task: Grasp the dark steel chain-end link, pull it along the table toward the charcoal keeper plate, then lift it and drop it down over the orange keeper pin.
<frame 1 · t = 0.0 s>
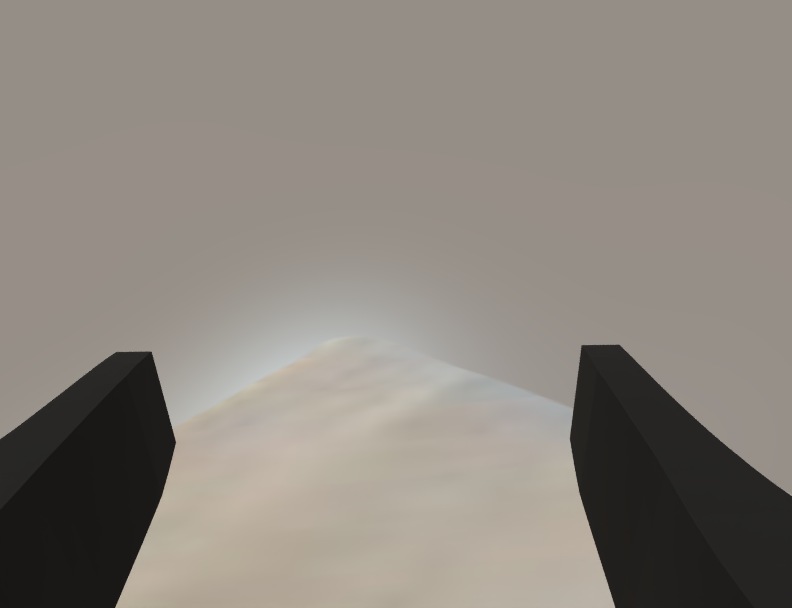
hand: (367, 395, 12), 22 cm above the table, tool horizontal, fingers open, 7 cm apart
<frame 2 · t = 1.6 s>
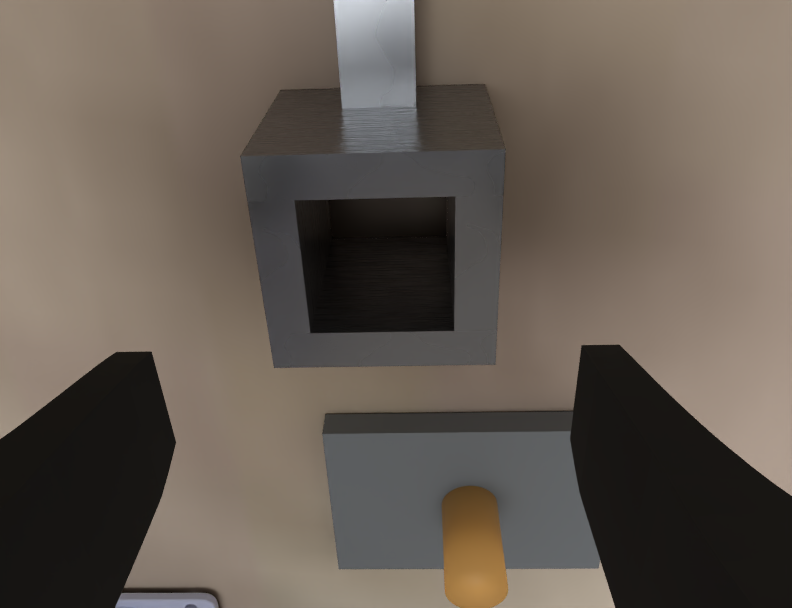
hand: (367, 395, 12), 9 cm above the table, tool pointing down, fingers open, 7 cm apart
keeper: (467, 484, 26), on the table
link: (386, 183, 20), on the table
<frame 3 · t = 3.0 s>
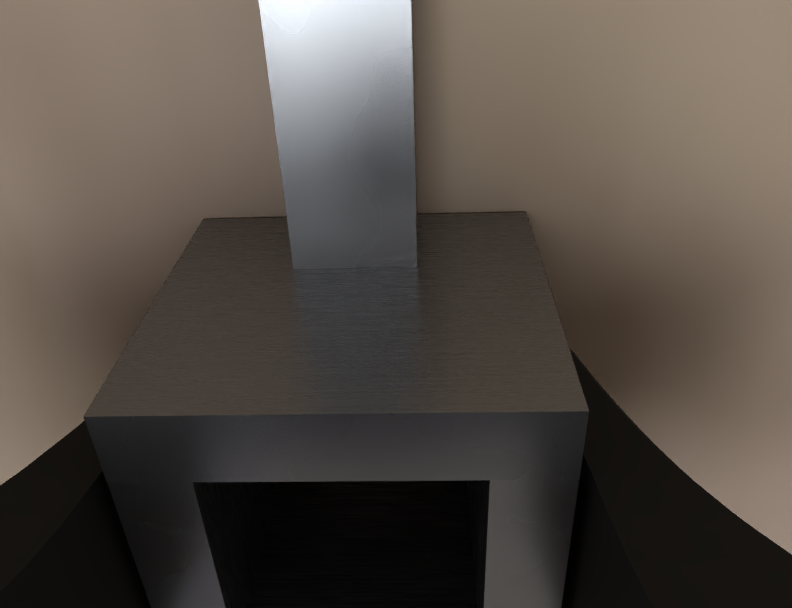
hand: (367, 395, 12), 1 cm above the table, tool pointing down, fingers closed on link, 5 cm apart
link: (371, 347, 13), on the table, touching gripper
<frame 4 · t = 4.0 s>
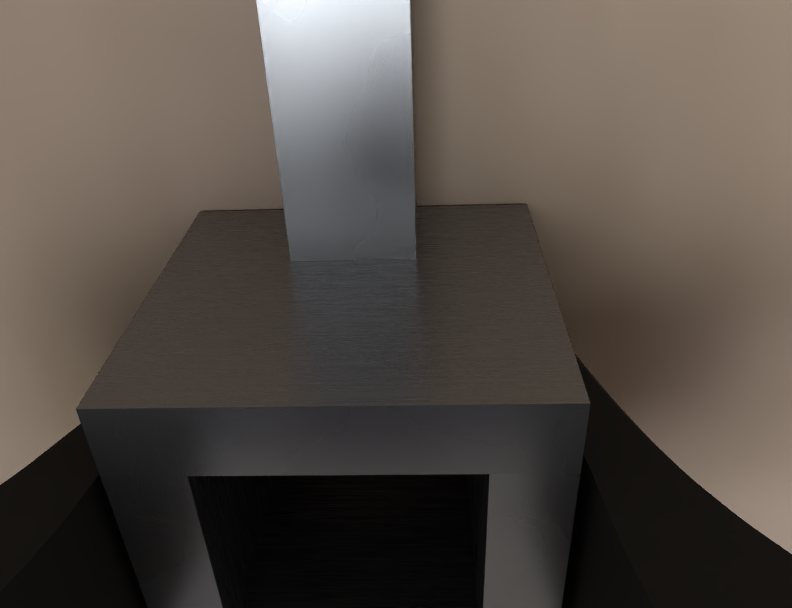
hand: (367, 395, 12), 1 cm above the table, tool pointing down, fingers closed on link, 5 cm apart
link: (370, 342, 13), on the table, touching gripper
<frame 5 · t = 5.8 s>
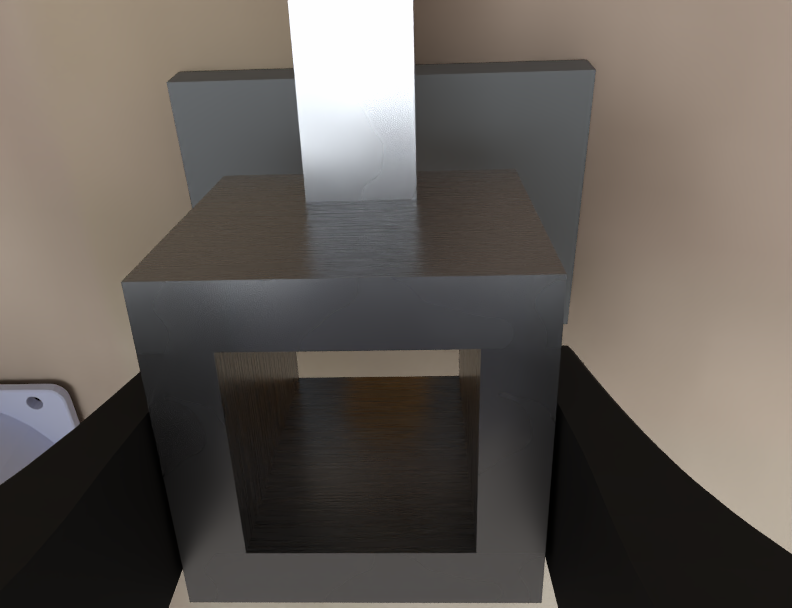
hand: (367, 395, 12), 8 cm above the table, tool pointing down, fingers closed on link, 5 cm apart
keeper: (386, 198, 19), on the table
link: (374, 304, 14), point 6 cm above the table, tilted 7°, touching gripper
when the fingers open (4 cm above the table, at t = 7.3 s): link stays where it is, resting on keeper.
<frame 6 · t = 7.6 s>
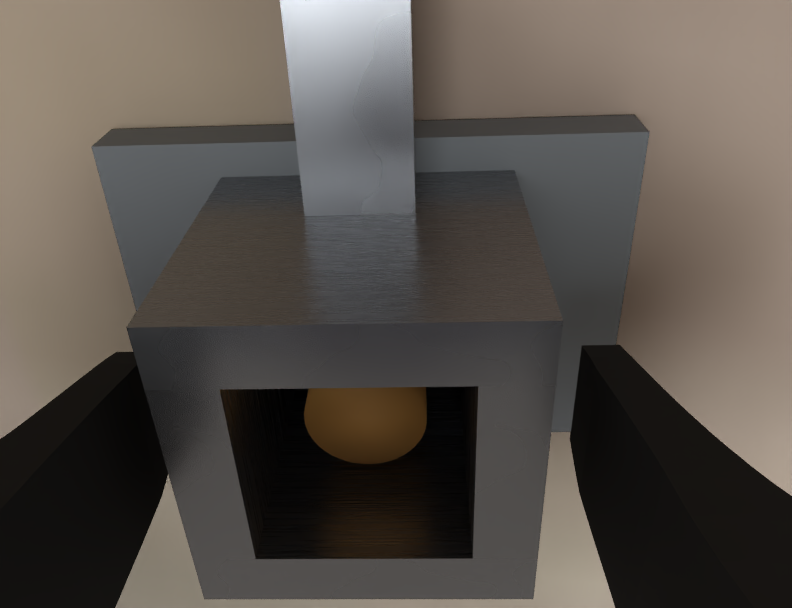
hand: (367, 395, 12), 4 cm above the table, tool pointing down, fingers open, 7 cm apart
keeper: (378, 280, 15), on the table
link: (374, 299, 14), point 1 cm above the table, touching keeper
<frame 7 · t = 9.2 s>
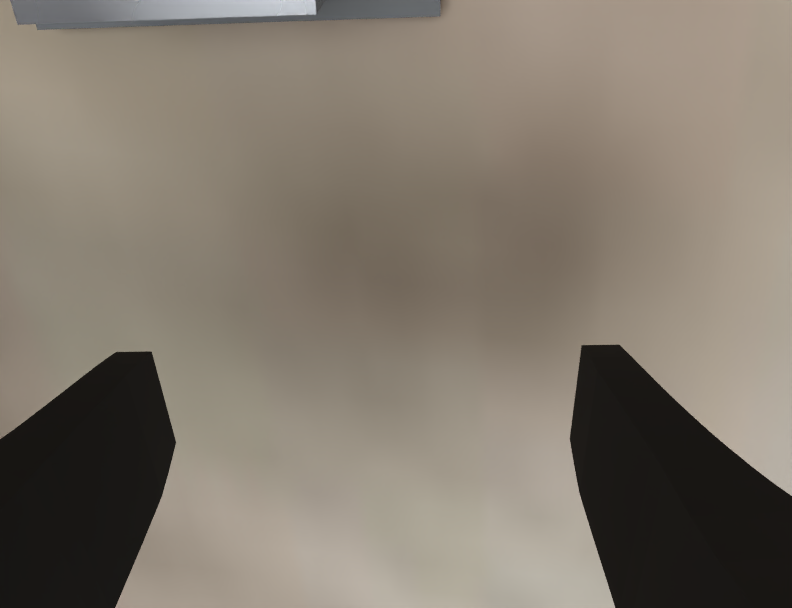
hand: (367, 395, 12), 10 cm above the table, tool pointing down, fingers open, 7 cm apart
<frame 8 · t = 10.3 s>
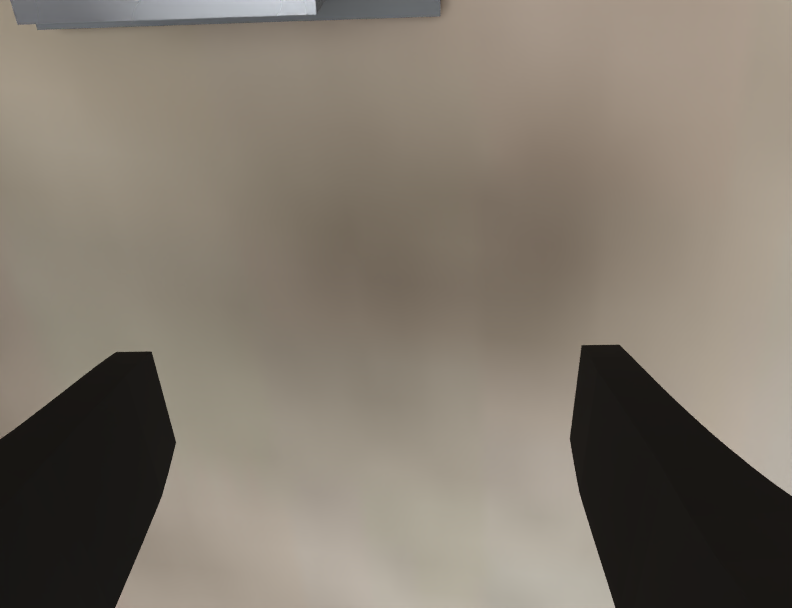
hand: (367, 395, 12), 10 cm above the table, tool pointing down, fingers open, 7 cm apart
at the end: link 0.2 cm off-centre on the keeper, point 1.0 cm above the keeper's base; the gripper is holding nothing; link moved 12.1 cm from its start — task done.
